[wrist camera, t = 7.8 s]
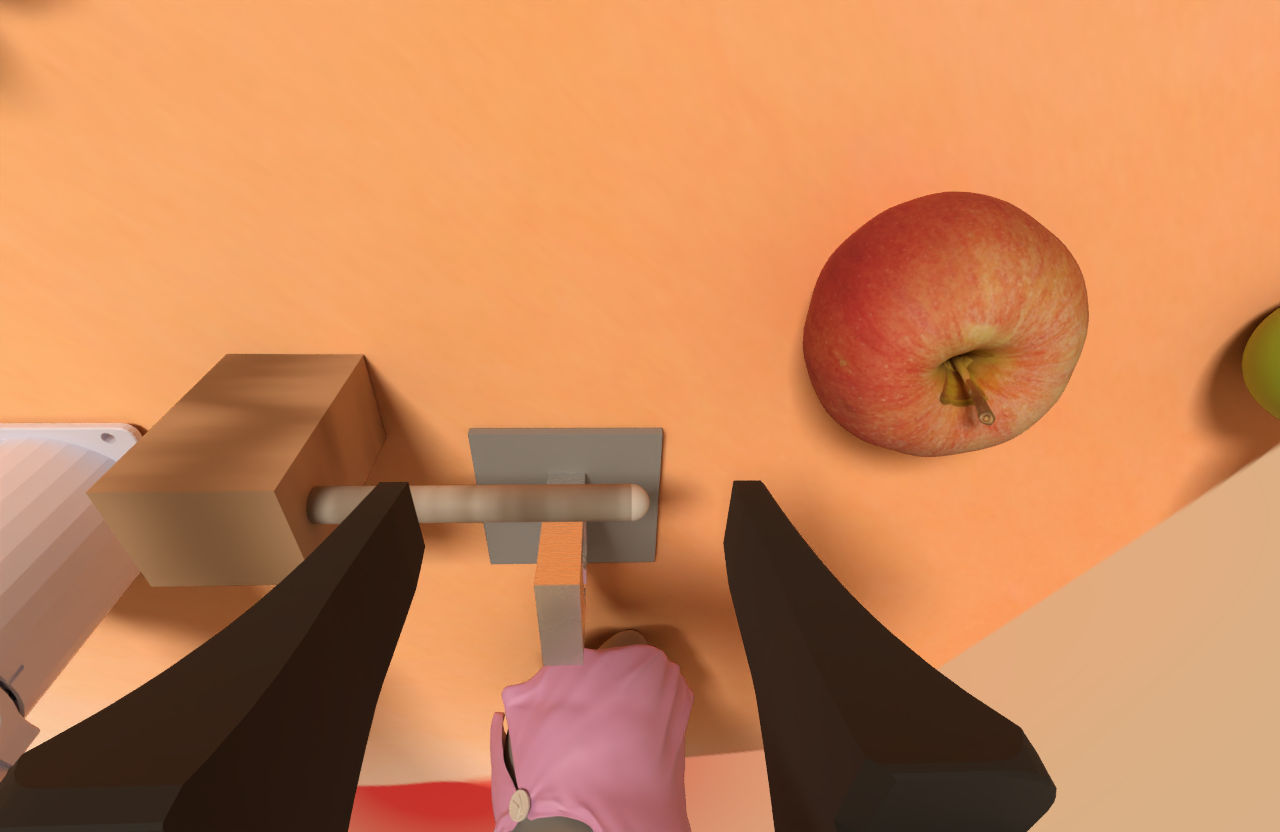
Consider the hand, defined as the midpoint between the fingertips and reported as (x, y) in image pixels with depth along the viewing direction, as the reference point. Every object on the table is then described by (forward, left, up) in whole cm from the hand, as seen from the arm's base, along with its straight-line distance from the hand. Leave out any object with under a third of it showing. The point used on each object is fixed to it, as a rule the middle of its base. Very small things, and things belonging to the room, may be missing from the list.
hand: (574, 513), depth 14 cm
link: (-1, -10, -10) cm, 14 cm away
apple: (+11, +1, -11) cm, 15 cm away
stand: (-6, -4, -10) cm, 13 cm away
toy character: (-1, -22, -11) cm, 24 cm away
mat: (-1, -9, -10) cm, 14 cm away
